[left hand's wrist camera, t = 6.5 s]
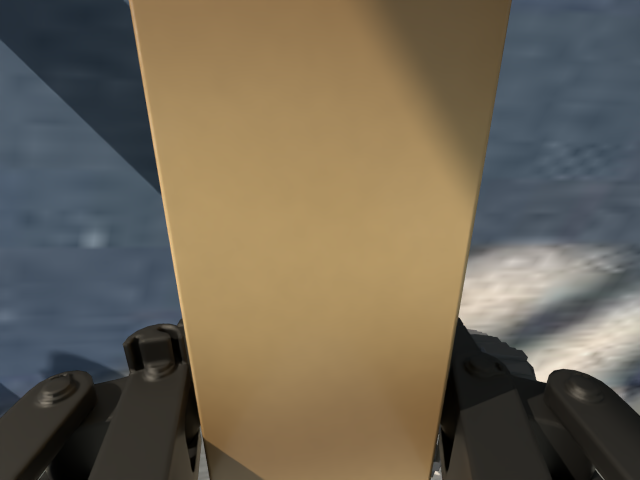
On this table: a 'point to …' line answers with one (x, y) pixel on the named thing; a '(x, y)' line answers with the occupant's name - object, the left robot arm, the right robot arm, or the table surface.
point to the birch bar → (320, 218)
